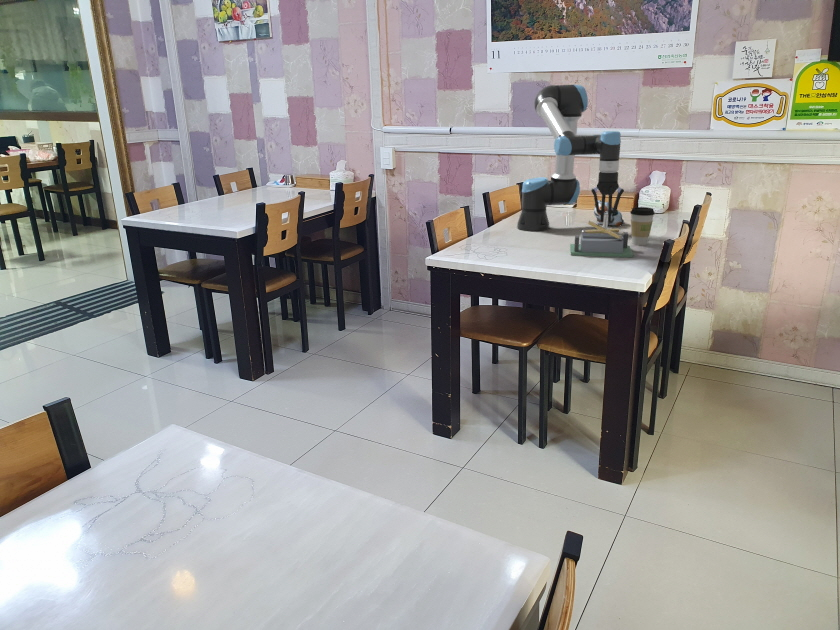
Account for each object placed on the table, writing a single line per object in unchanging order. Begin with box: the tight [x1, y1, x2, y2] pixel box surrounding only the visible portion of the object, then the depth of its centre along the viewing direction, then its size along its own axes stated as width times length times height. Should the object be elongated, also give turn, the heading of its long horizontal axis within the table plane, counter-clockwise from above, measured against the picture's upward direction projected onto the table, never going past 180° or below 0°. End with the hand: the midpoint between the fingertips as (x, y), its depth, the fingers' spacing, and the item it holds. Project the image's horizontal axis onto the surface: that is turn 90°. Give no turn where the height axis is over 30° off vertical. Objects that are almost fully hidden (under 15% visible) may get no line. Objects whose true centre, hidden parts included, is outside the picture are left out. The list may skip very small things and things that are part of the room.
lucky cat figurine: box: [593, 199, 625, 227], centre depth 317 cm, size 15×12×14 cm
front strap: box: [587, 220, 623, 241], centre depth 260 cm, size 15×4×2 cm, turn 79°
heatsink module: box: [569, 231, 634, 258], centre depth 266 cm, size 24×15×7 cm, turn 78°
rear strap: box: [581, 228, 620, 235], centre depth 269 cm, size 15×4×2 cm, turn 78°
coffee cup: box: [629, 206, 656, 246], centre depth 277 cm, size 10×10×15 cm
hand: (604, 229), depth 269 cm, fingers closed
